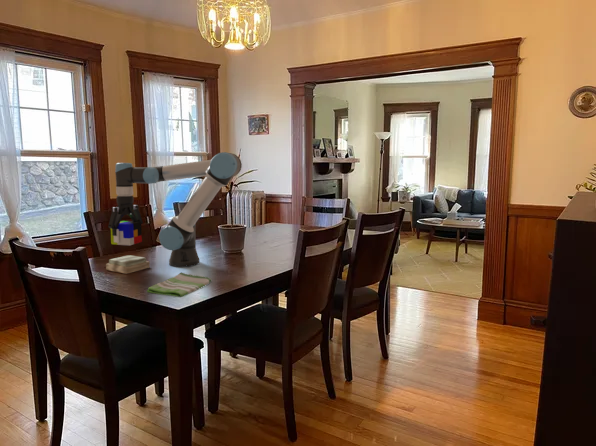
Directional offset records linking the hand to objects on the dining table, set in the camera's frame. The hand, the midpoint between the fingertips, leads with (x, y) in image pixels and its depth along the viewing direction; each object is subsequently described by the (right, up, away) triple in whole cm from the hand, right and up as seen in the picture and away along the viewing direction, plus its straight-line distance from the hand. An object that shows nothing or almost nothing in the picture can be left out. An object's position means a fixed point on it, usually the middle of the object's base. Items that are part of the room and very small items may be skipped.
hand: (126, 240), depth 213 cm
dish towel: (+34, -19, -28) cm, 48 cm away
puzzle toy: (0, -1, 0) cm, 1 cm away
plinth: (0, -14, +2) cm, 14 cm away
